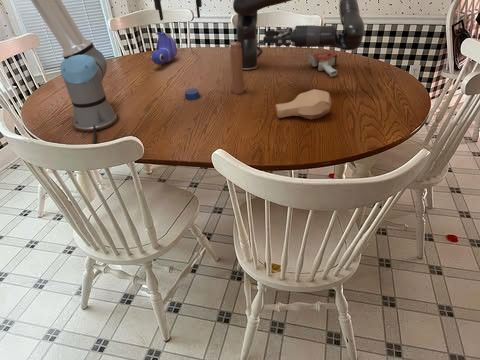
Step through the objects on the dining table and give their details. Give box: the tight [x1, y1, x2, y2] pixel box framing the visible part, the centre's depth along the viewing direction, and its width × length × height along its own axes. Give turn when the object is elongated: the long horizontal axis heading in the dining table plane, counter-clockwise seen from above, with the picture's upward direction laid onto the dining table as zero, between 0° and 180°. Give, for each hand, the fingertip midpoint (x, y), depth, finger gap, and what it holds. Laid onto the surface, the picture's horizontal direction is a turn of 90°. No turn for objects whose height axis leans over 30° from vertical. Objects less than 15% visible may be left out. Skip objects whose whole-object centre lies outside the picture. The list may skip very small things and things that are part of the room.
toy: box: [150, 31, 178, 69], centre depth 181 cm, size 10×17×25 cm
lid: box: [184, 88, 200, 101], centre depth 148 cm, size 6×6×2 cm
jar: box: [229, 41, 245, 95], centre depth 144 cm, size 5×5×20 cm
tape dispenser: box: [308, 51, 338, 78], centre depth 165 cm, size 18×5×20 cm
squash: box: [274, 88, 332, 120], centre depth 126 cm, size 11×20×9 cm, turn 92°
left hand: (180, 18), depth 130 cm, fingers open, 13 cm apart
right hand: (264, 36), depth 135 cm, fingers open, 8 cm apart
